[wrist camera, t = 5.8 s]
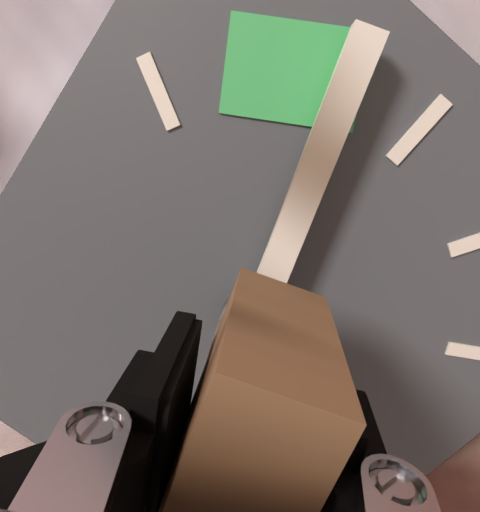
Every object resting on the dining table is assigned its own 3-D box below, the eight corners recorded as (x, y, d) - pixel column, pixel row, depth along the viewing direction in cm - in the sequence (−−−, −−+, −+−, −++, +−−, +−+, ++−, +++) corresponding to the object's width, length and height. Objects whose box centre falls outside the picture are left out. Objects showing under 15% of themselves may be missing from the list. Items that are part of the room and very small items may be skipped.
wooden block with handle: (255, 394, 16) (236, 667, 8) (198, 373, 16) (118, 627, 8) (402, 48, 12) (660, -121, 4) (327, 20, 12) (435, -208, 4)
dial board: (272, 568, 21) (272, 602, 20) (-67, 340, 19) (-97, 358, 17) (652, 250, 15) (694, 263, 14) (225, -142, 13) (218, -179, 11)
